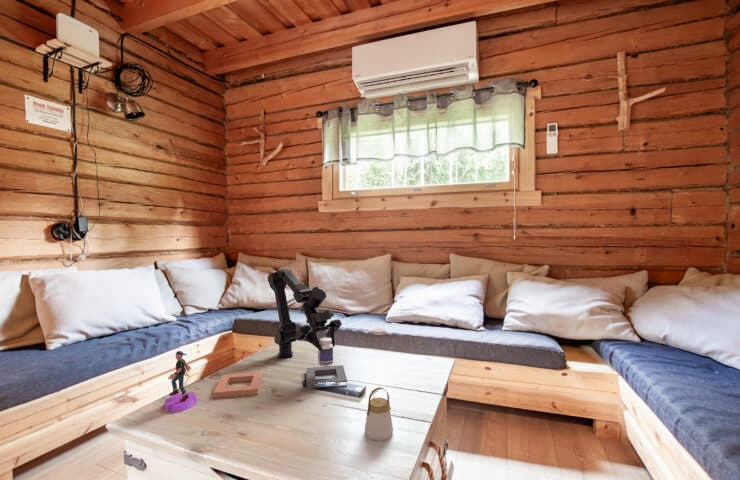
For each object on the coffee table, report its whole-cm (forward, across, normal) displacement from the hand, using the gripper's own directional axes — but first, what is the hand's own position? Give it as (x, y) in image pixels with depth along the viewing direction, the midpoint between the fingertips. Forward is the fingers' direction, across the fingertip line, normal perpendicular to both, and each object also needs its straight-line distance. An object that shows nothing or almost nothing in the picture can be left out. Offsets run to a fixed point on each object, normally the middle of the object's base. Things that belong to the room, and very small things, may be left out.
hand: (327, 348), depth 136 cm
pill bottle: (+4, 0, +6) cm, 7 cm away
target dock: (-2, -28, +20) cm, 35 cm away
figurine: (-2, -48, +20) cm, 52 cm away
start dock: (+8, 0, +10) cm, 13 cm away
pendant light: (+36, -8, -19) cm, 42 cm away
